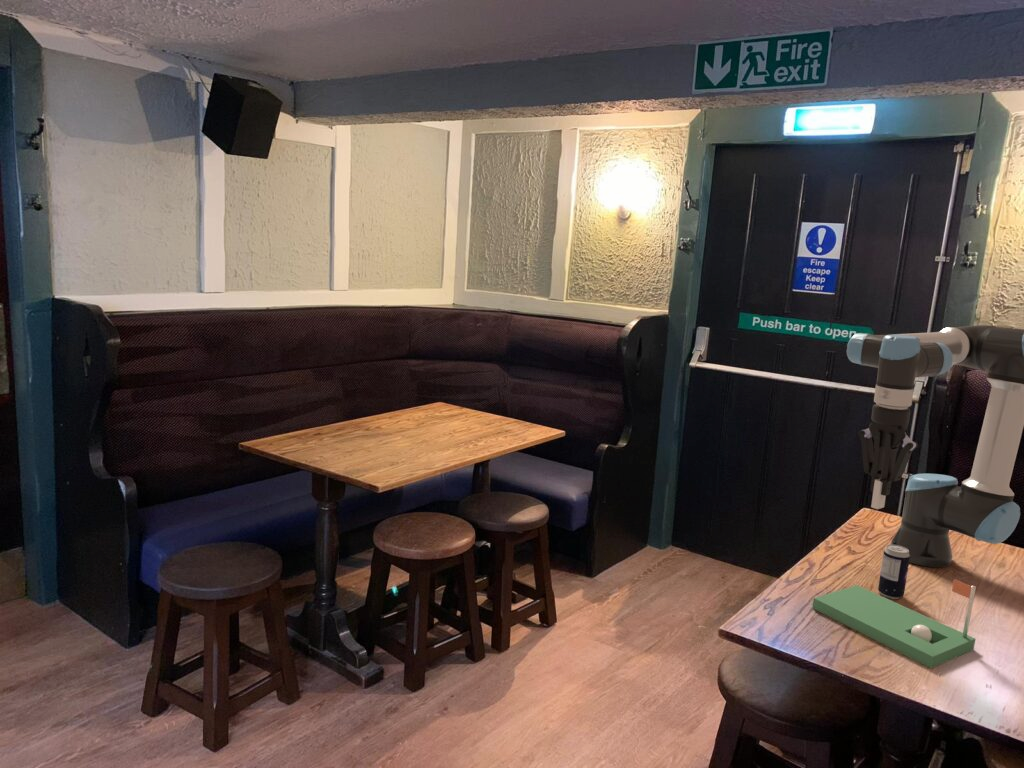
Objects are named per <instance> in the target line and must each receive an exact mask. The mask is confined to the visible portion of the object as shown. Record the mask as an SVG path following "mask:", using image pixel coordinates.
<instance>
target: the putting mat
mask: <svg viewBox="0 0 1024 768" xmlns="http://www.w3.org/2000/svg"><path fill="white" fill-rule="evenodd" d="M812 609H813V610H815V611H817V612H819V613H821V614H823V615H824V616H827V617H829V618H831V619H833V620H834V621H837V622H839V623H840V624H842V625H844V626H847V627H849V628H851V629H852V630H855V631H856V632H858V633H860V634H863V635H864V636H866V637H868V638H871V639H872V640H874V641H876V642H879V643H880V644H882V645H884V646H887V647H888V648H890V649H893V650H894V651H896V652H899V653H900V654H902V655H904V656H905V657H908V658H910V659H911V660H913V661H916V662H917V663H920V664H922V665H923V666H926V667H928V668H930V669H932V668H935V667H937V666H939V665H941V664H944V663H946V662H948V661H951V660H953V659H955V658H957V657H960V656H962V655H964V654H967V653H969V652H971V651H974V649H975V644H976V638H975V637H973V636H970V635H969V634H967V638H964V637H962V636H963V631H960V630H958V629H956V628H953V627H952V626H951V627H950V626H948V625H946V624H944V623H942V622H939V621H937V620H935V619H933V618H930V617H928V616H926V615H924V614H921V613H919V612H917V611H916V610H913V609H911V608H910V607H909V608H908V607H906V606H905V605H902V604H901V603H900V604H899V603H897V602H895V601H893V600H891V599H890V598H887V597H885V596H883V595H880V594H878V593H875V592H873V591H871V590H869V589H867V588H864V587H863V586H860V585H857V584H855V585H852V586H849V587H846V588H843V589H839V590H836V591H833V592H830V593H829V592H828V593H826V594H823V595H819V596H816V597H813V600H812ZM915 625H924V626H926V627H928V628H929V629H930V631H931V633H932V638H931V640H930V642H927V641H925V640H923V639H921V638H919V637H917V636H914V635H912V634H911V629H912V628H913V627H914V626H915ZM931 642H932V643H931Z"/></svg>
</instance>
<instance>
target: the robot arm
mask: <svg viewBox="0 0 1024 768" xmlns="http://www.w3.org/2000/svg"><path fill="white" fill-rule="evenodd" d="M846 348H847V349H846V356H847V358H848V360H849V361H850V362H851V363H853V364H858V365H860V366H867V367H871V368H876V369H877V378H876V382H875V383H876V384H875V389H874V397H873V403H874V404H873V405H872V410H871V411H872V412H871V416H870V417H871V418H870V419H871V422H870V423H869V426H868V428H866V429H861V430H858V431H857V434H858V436H859V438H860V441H861V443H860V444H861V452H862V462H863V463H862V464H863V473H864V474H865V475H866V474H867V475H869V476H870V477H871V481H870V488H869V489H870V492H872V497H871V498H872V499H871V505H870V508H872V509H875V510H880V509H883V508H885V505H886V497H887V496H889V495H890V493H891V487H892V482H897V481H901V479H902V477H903V475H904V472H905V470H906V468H907V465H908V463H909V460H910V458H911V455H912V453H913V451H915V449H917V448H918V447H919V443H918V442H917V441H913V440H912V439H911V438H910V437H909V432H908V427H909V424H910V423H909V422H910V419H911V418H910V416H911V409H910V407H912V405H913V396H914V388H915V381H916V378H925V377H926V378H927V377H931V378H932V377H936V376H940V375H943V374H945V373H947V372H948V371H949V370H950V369H951V367H952V365H956V366H963V367H967V368H971V369H975V370H980V371H985V372H987V376H986V380H987V381H988V383H989V384H990V386H991V389H990V391H989V392H990V393H989V398H988V401H987V405H986V409H985V414H984V418H983V422H982V426H981V431H980V434H979V437H978V438H979V439H978V443H977V447H976V451H975V455H974V460H973V465H972V468H971V472H970V476H969V477H968V478H966V479H964V480H963V481H961V485H960V486H959V485H958V484H959V482H958V478H957V477H954V476H951V475H948V474H947V475H946V474H940V473H939V474H938V473H916V474H913V475H911V476H909V478H908V480H907V485H906V488H905V495H904V496H905V497H904V503H903V509H902V515H901V521H900V525H899V527H898V529H897V531H896V533H895V534H894V536H893V537H892V539H891V542H890V545H899V546H902V547H905V548H907V549H908V550H909V555H910V560H909V564H914V565H918V566H922V567H927V568H945V567H949V566H950V565H952V559H953V552H952V546H951V542H950V536H949V535H950V531H953V532H955V533H958V534H962V535H964V536H966V537H969V538H972V539H975V540H976V541H979V542H980V541H982V542H984V543H988V544H990V545H991V544H992V545H997V544H1001V543H1003V542H1004V541H1006V540H1007V539H1008V538H1009V537H1010V536H1011V535H1012V533H1013V532H1014V531H1015V529H1016V527H1017V525H1018V523H1019V521H1020V517H1021V508H1020V506H1019V504H1017V503H1016V502H1014V497H1015V493H1014V492H1013V490H1012V488H1010V482H1011V478H1012V475H1013V470H1014V466H1015V462H1016V459H1017V454H1018V450H1019V447H1020V443H1021V439H1022V434H1023V430H1024V329H1023V328H1012V327H1005V326H996V325H989V324H978V325H964V326H955V327H953V326H952V327H945V328H942V329H941V330H940V331H935V332H933V331H931V332H918V333H917V332H915V333H896V334H895V333H894V334H870V333H863V332H857V333H855V334H854V335H853V336H851V337H850V339H849V341H848V343H847V344H846ZM873 441H874V442H873ZM901 444H902V446H901V447H902V448H901V450H900V451H899V448H900V447H899V446H900V445H901ZM898 451H899V454H898V457H897V453H898ZM896 459H897V460H896Z"/></svg>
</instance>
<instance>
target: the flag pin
mask: <svg viewBox="0 0 1024 768" xmlns="http://www.w3.org/2000/svg"><path fill="white" fill-rule="evenodd" d="M951 587H952V589H951V591H952V592H953V593H954V594H957V595H959V596H963V597H965V598H967V599H968V603H967V609H966V615H965V620H964V626H963V631H962V633H963V636H962V637H964V638H967V635H968V632H969V626H970V621H971V618H972V617H971V616H972V611H973V604H974V600H975V595H976V594H975V593H976V588H977V586H975V585H970V584H968V583H965V582H963V581H960V580H958V579H953V581H952V586H951Z"/></svg>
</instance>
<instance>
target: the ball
mask: <svg viewBox="0 0 1024 768" xmlns="http://www.w3.org/2000/svg"><path fill="white" fill-rule="evenodd" d="M911 634H912V635H914V636H917V637H919V638H921V639H923V640H925V641H927V642H929V643H931V641H930V640H931V638H932V633H931V631H930V629H929V628H928V627H926V626H924V625H915V626H914V627H913V628H912V629H911Z"/></svg>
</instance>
